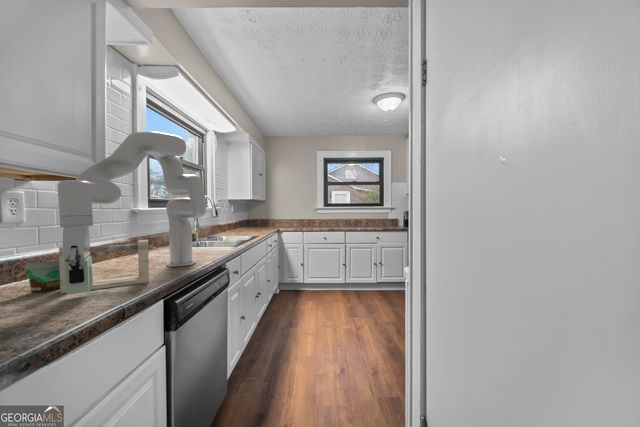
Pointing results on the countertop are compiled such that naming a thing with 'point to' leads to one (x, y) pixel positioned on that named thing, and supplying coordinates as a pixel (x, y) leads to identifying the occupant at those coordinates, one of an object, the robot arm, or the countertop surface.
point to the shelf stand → (142, 278)
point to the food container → (44, 276)
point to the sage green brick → (88, 278)
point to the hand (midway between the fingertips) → (80, 279)
